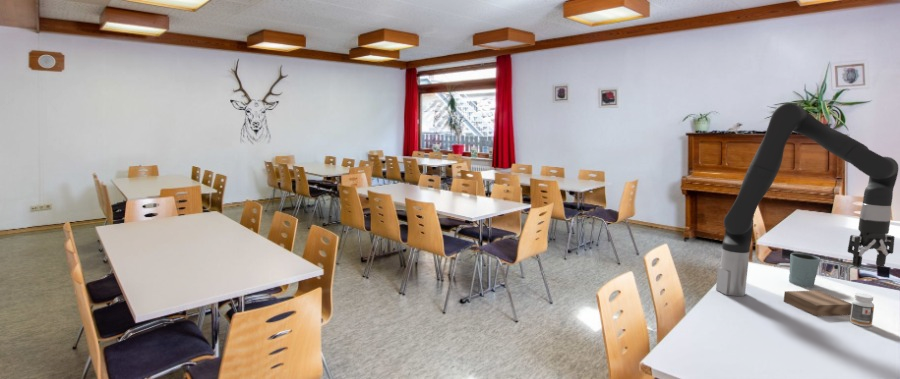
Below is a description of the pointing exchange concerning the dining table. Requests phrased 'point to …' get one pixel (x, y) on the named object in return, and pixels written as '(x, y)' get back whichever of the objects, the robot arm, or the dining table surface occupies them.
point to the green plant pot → (803, 269)
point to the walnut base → (817, 303)
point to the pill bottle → (862, 310)
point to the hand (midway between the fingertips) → (868, 266)
